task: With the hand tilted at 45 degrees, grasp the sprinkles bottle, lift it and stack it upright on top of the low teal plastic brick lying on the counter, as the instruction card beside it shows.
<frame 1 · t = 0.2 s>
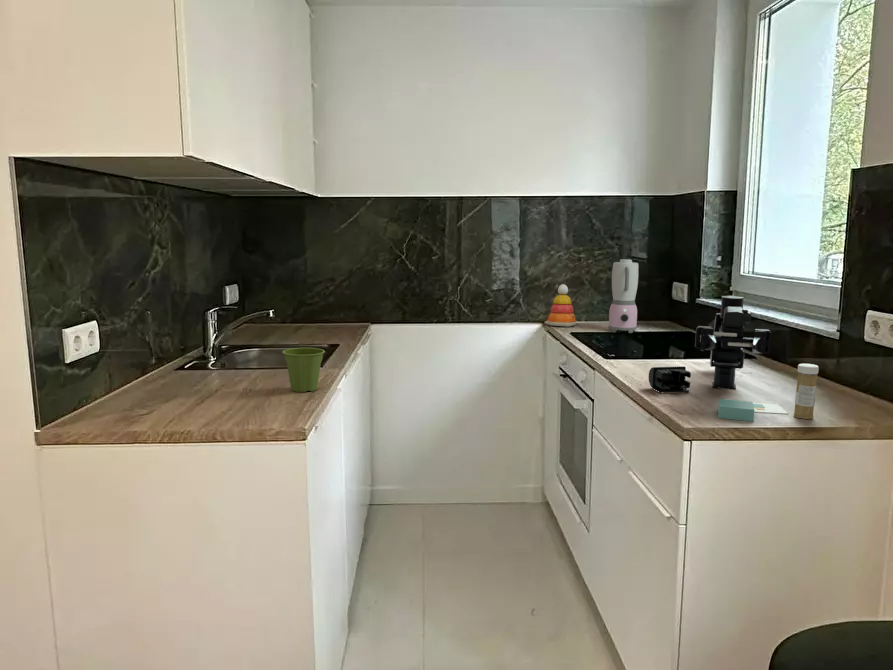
hand: (734, 346, 175), 17 cm above the counter, tool horizontal, fingers open, 9 cm apart
blender: (622, 331, 304), on the counter
end cap: (668, 390, 198), on the counter
brick: (735, 415, 171), on the counter
instruction card: (758, 408, 179), on the counter
sprinkles bottle: (803, 418, 170), on the counter
stacking toy: (561, 325, 321), on the counter
plant pot: (304, 390, 194), on the counter
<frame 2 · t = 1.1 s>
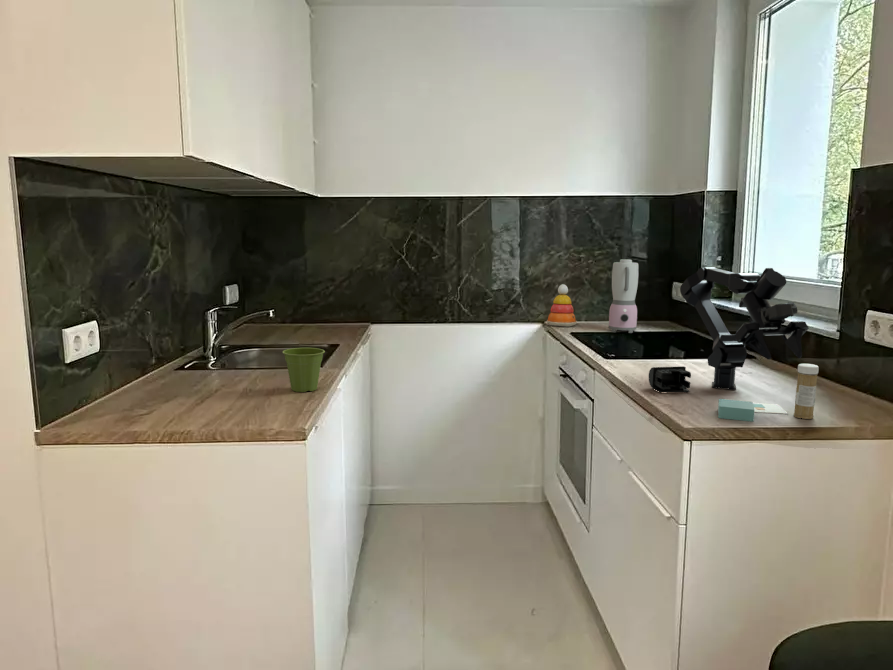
hand: (785, 358, 176), 14 cm above the counter, tool tilted 45°, fingers open, 9 cm apart
nothing on the counter moved.
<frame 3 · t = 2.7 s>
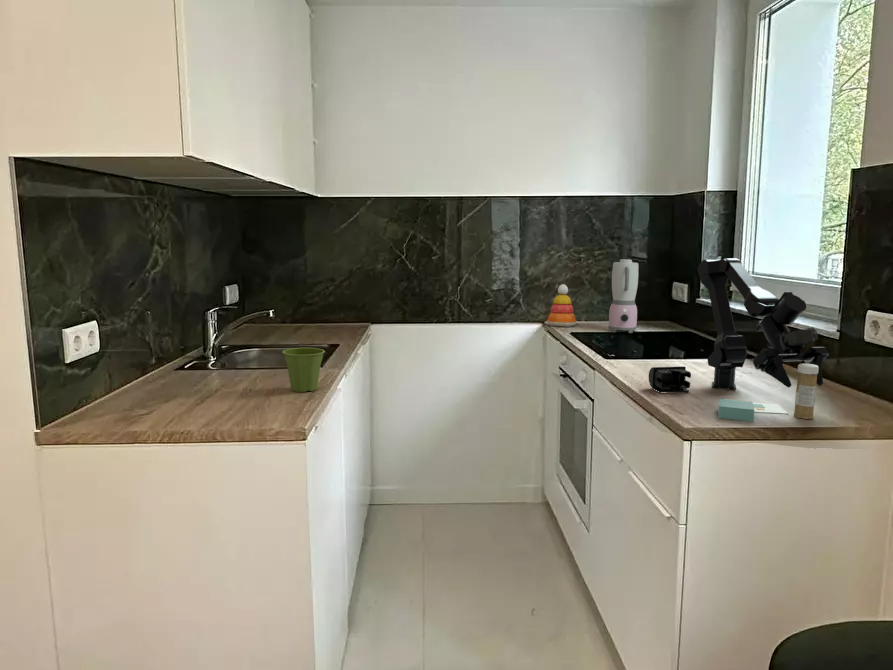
hand: (805, 385, 169), 8 cm above the counter, tool tilted 45°, fingers open, 9 cm apart
nothing on the counter moved.
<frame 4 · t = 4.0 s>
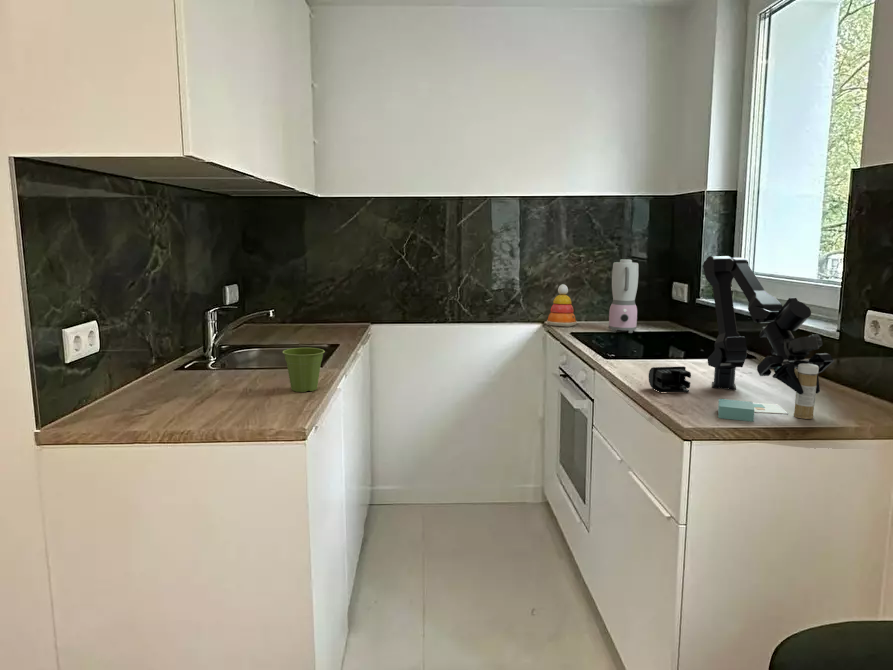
hand: (810, 393, 168), 7 cm above the counter, tool tilted 45°, fingers closed on sprinkles bottle, 4 cm apart
sprinkles bottle: (803, 418, 170), on the counter, touching gripper
everything else where it was.
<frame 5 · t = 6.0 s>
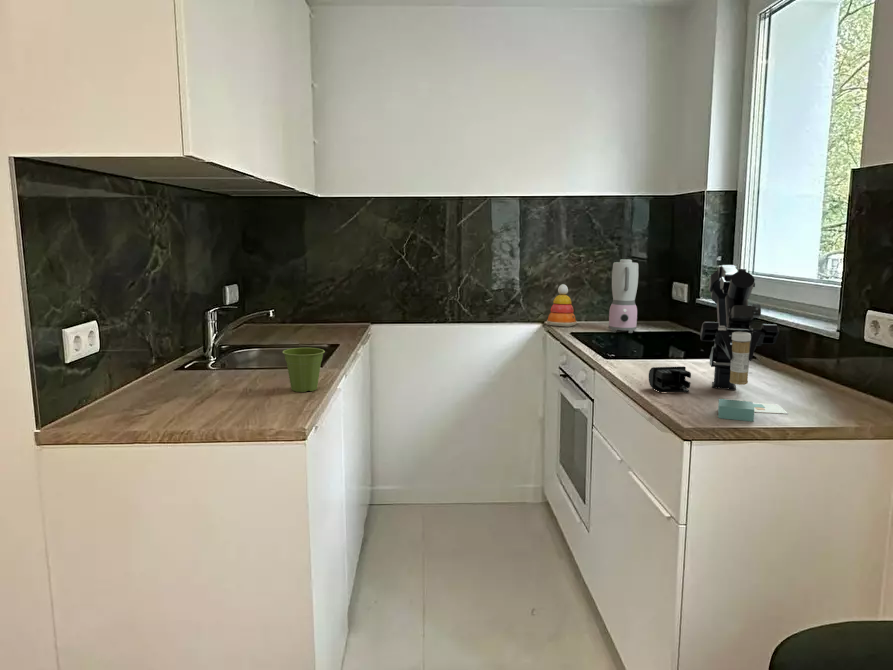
hand: (740, 359, 176), 13 cm above the counter, tool tilted 45°, fingers closed on sprinkles bottle, 4 cm apart
sprinkles bottle: (738, 383, 178), point 6 cm above the counter, touching gripper
everything else where it was.
when the fingers open (10 cm above the counter, at t = 8.3 s): sprinkles bottle stays where it is, resting on brick.
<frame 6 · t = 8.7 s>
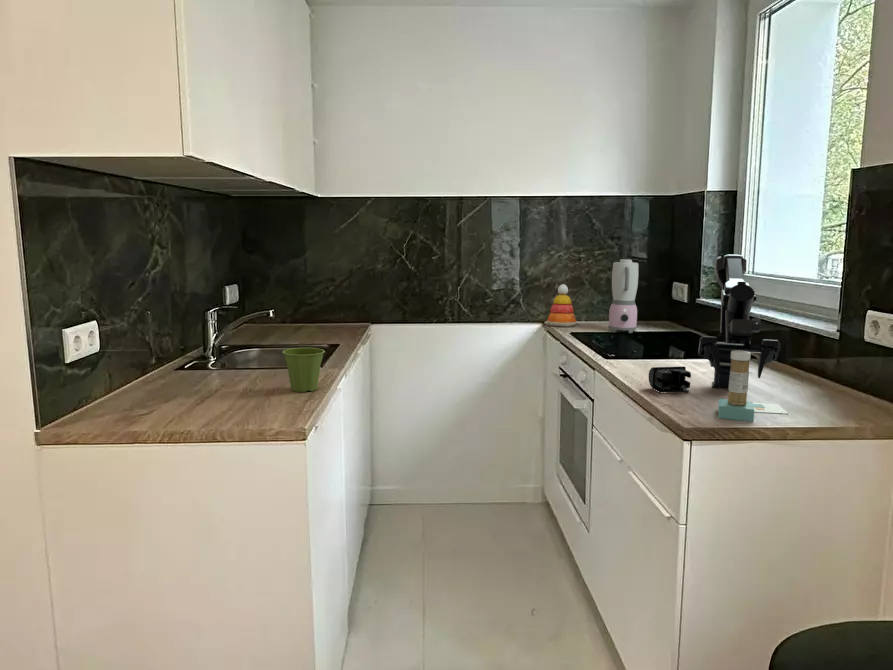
hand: (739, 375, 168), 11 cm above the counter, tool tilted 45°, fingers open, 9 cm apart
sprinkles bottle: (736, 404, 171), point 3 cm above the counter, touching brick
everything else where it was.
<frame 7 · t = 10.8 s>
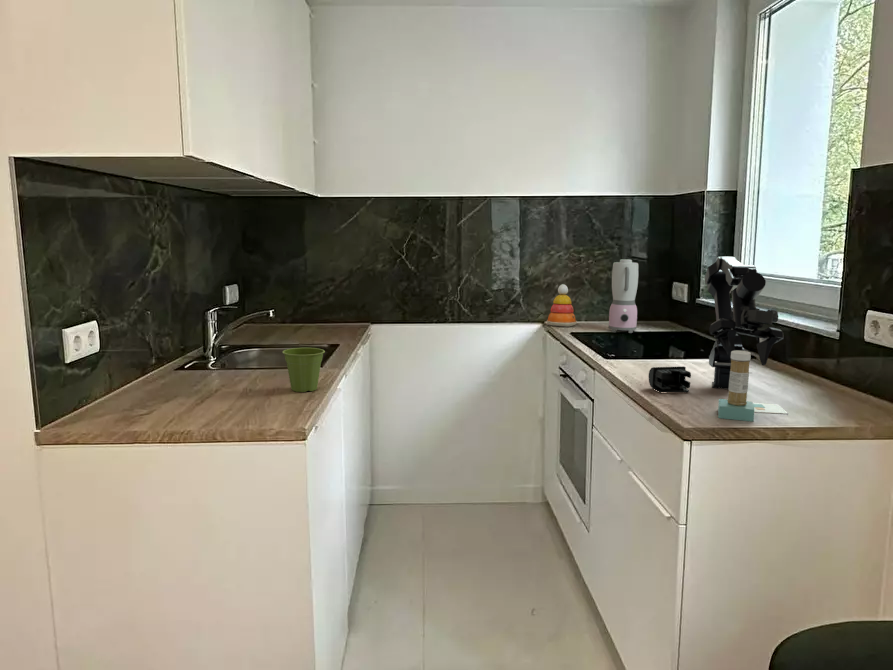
hand: (748, 362, 177), 12 cm above the counter, tool tilted 30°, fingers open, 9 cm apart
nothing on the counter moved.
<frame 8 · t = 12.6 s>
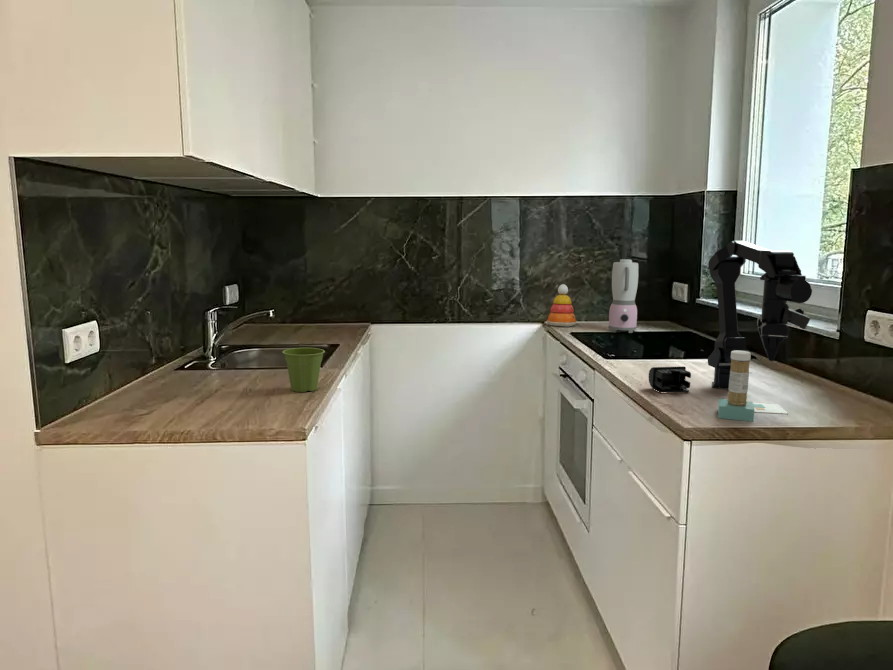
hand: (769, 357, 179), 13 cm above the counter, tool pointing down, fingers open, 9 cm apart
nothing on the counter moved.
at the end: sprinkles bottle inside the target area on the brick (0.3 cm from its centre), point 2.8 cm above the brick's base; sprinkles bottle tilted 0°; the gripper is holding nothing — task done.
